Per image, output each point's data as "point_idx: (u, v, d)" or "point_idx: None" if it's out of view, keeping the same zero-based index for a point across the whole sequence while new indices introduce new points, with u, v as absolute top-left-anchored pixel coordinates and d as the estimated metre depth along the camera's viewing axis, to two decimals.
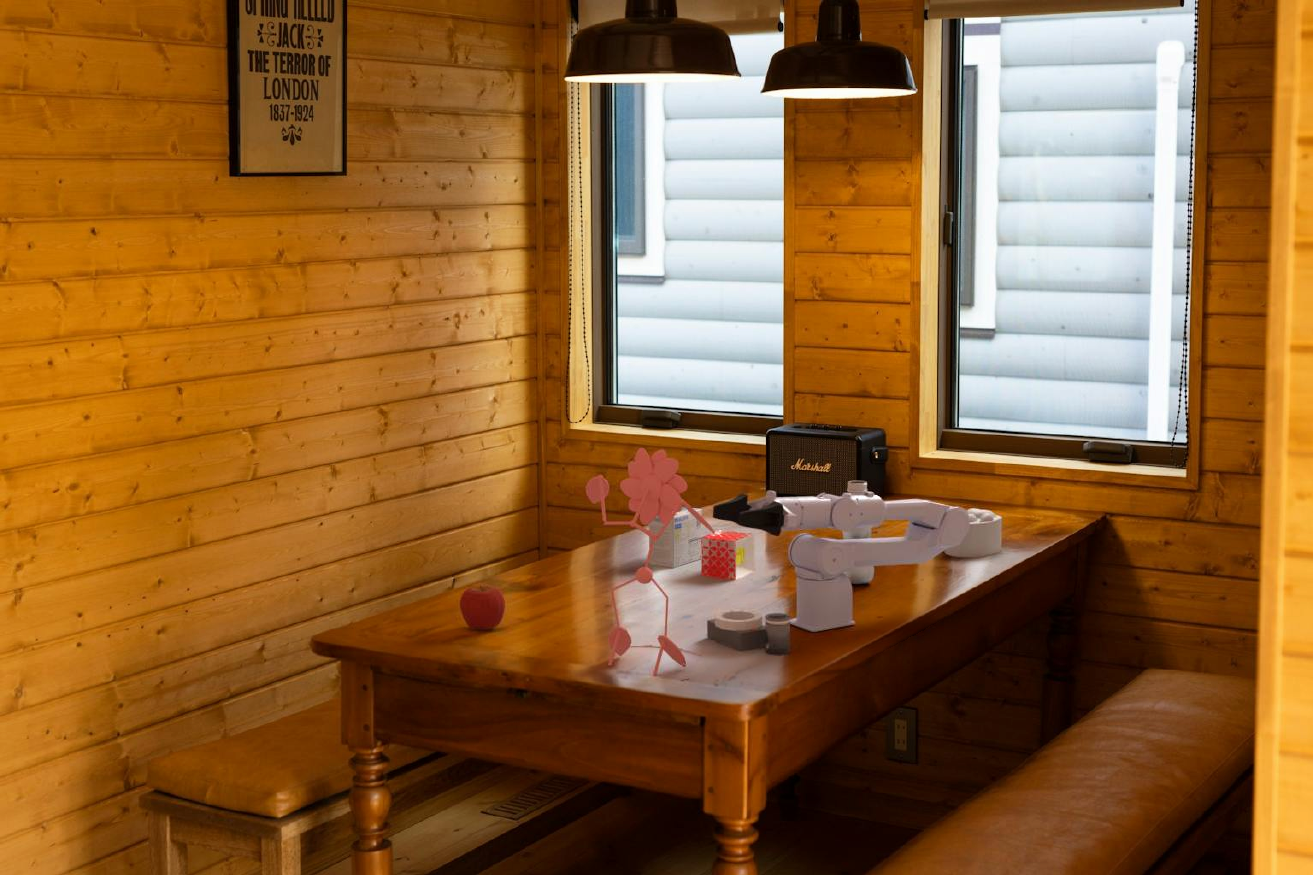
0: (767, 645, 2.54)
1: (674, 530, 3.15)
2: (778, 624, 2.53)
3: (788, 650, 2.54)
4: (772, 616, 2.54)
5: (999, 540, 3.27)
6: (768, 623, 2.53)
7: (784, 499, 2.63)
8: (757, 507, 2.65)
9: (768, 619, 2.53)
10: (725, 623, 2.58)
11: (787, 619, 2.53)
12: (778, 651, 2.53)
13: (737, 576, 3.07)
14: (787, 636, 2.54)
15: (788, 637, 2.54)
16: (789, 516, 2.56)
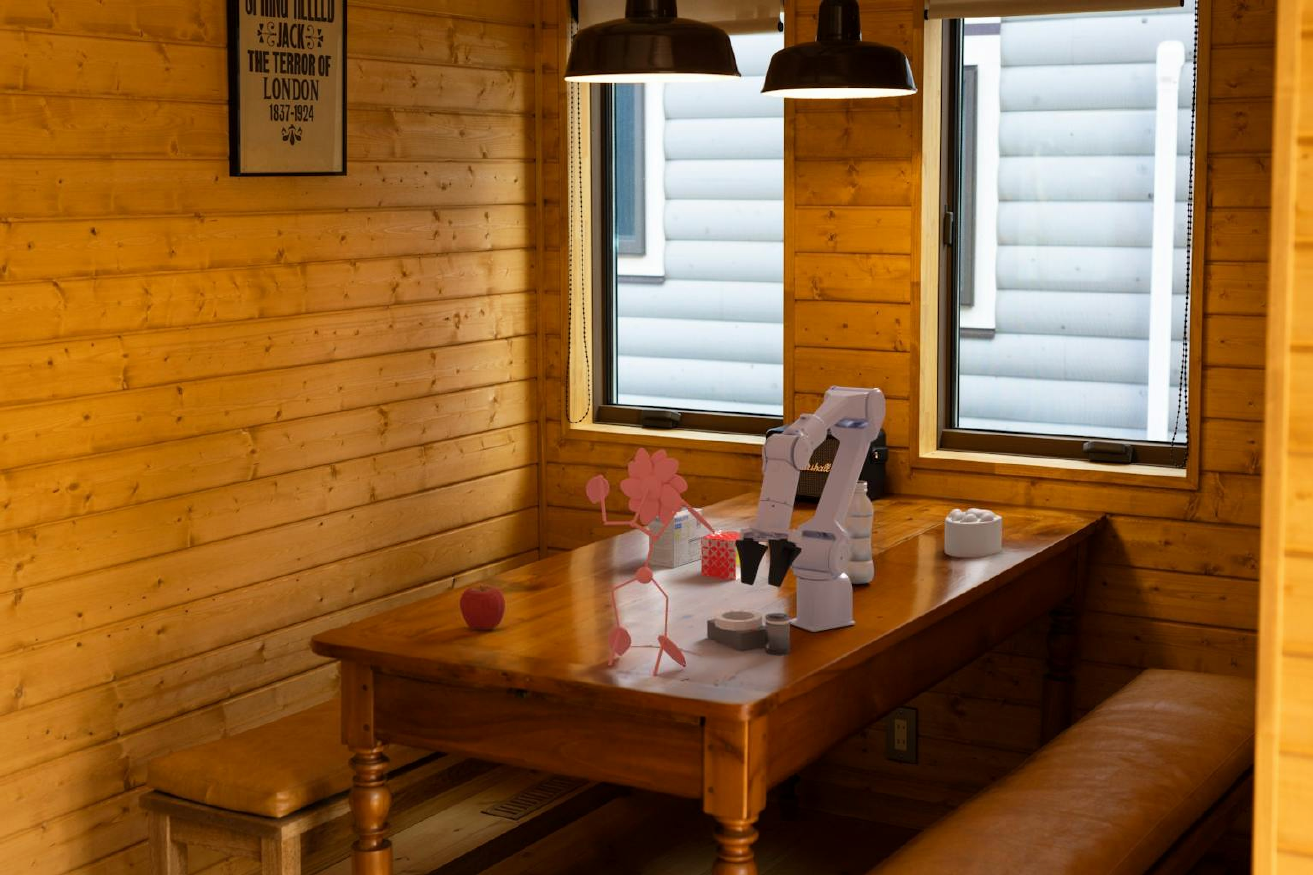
0: (767, 645, 2.54)
1: (674, 530, 3.15)
2: (778, 624, 2.53)
3: (788, 650, 2.54)
4: (772, 616, 2.54)
5: (999, 540, 3.27)
6: (768, 623, 2.53)
7: (764, 515, 2.54)
8: (756, 536, 2.57)
9: (768, 619, 2.53)
10: (725, 623, 2.58)
11: (787, 619, 2.53)
12: (778, 651, 2.53)
13: (737, 576, 3.07)
14: (787, 636, 2.54)
15: (788, 637, 2.54)
16: (791, 539, 2.49)
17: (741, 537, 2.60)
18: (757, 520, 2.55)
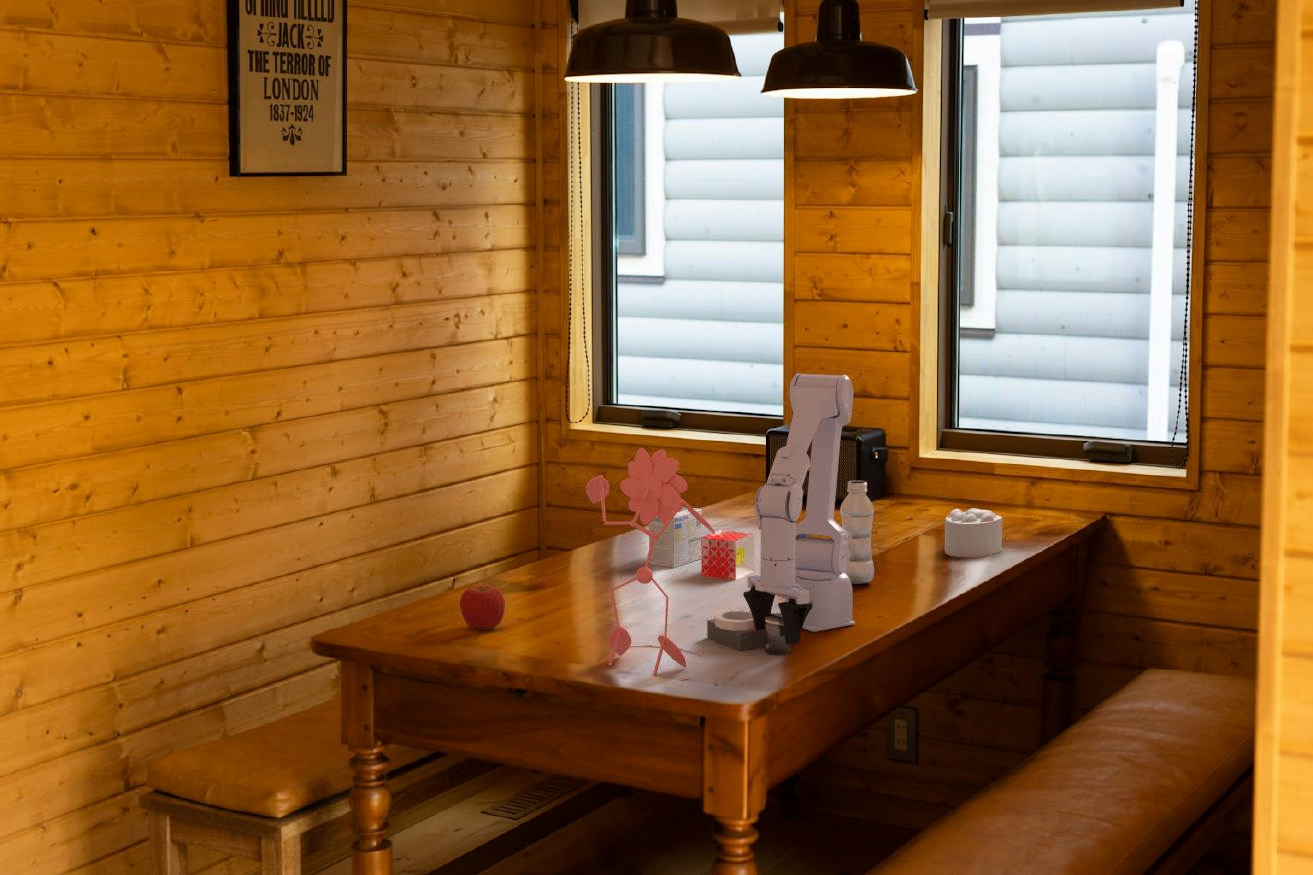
0: (767, 645, 2.54)
1: (674, 530, 3.15)
2: (778, 624, 2.53)
3: (788, 650, 2.54)
4: (772, 616, 2.54)
5: (999, 540, 3.27)
6: (768, 623, 2.53)
7: (768, 575, 2.51)
8: None
9: (768, 619, 2.53)
10: (725, 623, 2.58)
11: None
12: (778, 651, 2.53)
13: (737, 576, 3.07)
14: None
15: None
16: (800, 602, 2.47)
17: (749, 585, 2.59)
18: (762, 579, 2.52)
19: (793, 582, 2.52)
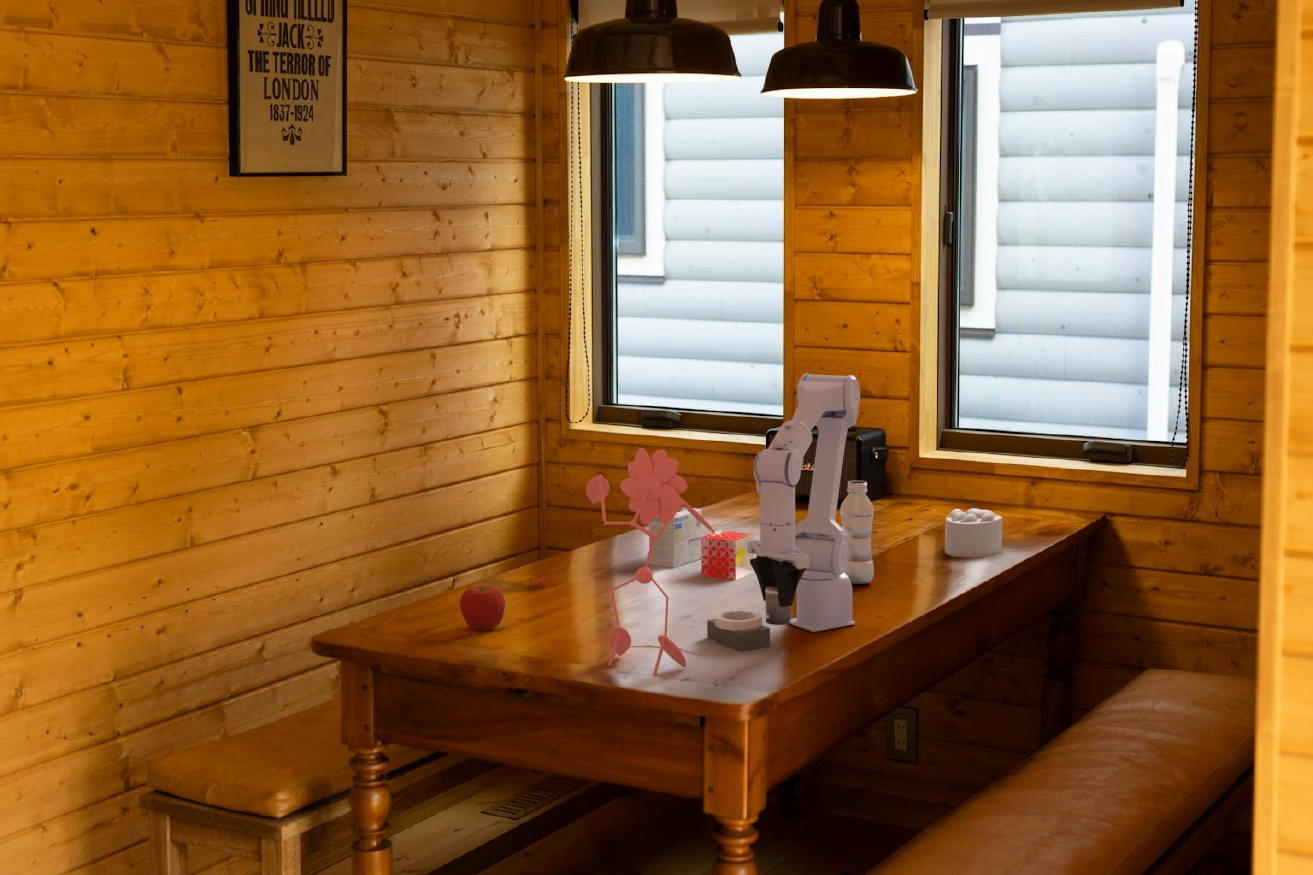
0: (767, 615, 2.53)
1: (674, 530, 3.15)
2: None
3: (788, 620, 2.54)
4: (772, 586, 2.53)
5: (999, 540, 3.27)
6: (768, 593, 2.53)
7: (767, 540, 2.50)
8: None
9: (768, 589, 2.53)
10: (725, 623, 2.58)
11: None
12: (779, 621, 2.53)
13: (737, 576, 3.07)
14: None
15: (788, 607, 2.53)
16: (800, 567, 2.47)
17: (749, 550, 2.58)
18: (762, 544, 2.52)
19: (793, 547, 2.52)
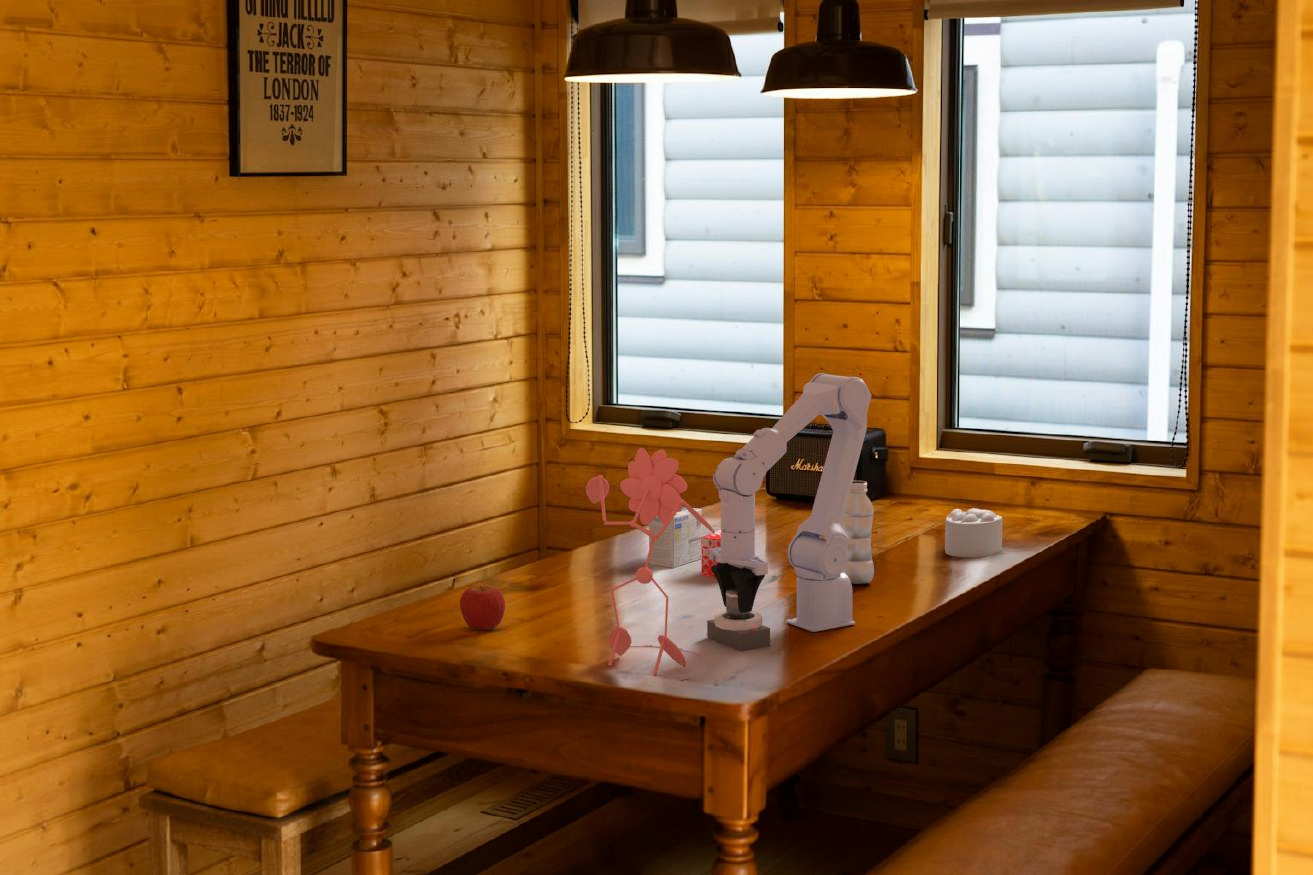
0: (728, 618, 2.60)
1: (674, 530, 3.15)
2: None
3: None
4: (732, 589, 2.60)
5: (1000, 540, 3.27)
6: (728, 596, 2.59)
7: (728, 547, 2.57)
8: None
9: (728, 592, 2.59)
10: (725, 623, 2.58)
11: None
12: None
13: None
14: None
15: None
16: (758, 573, 2.53)
17: (710, 557, 2.65)
18: (722, 551, 2.58)
19: (753, 554, 2.58)
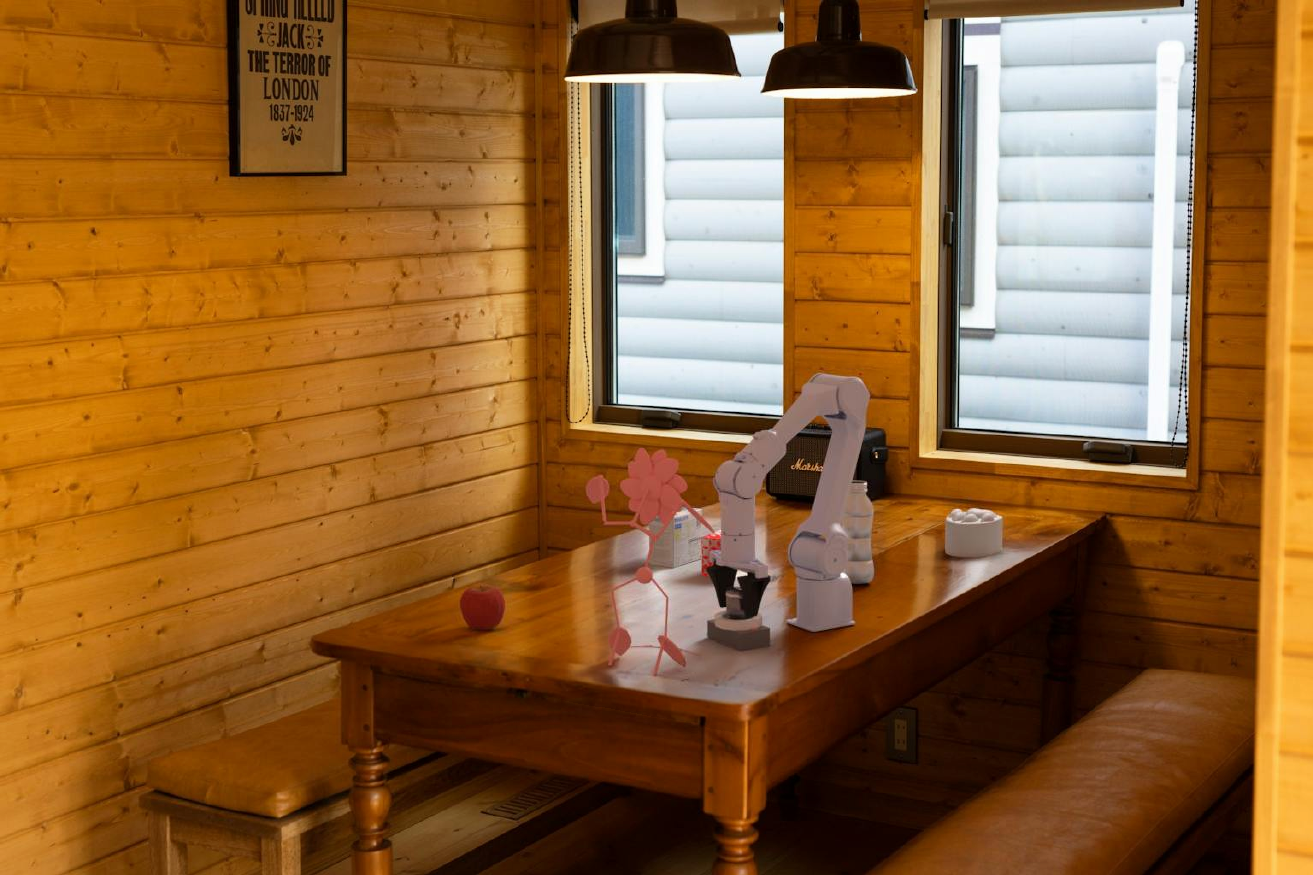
0: (728, 618, 2.60)
1: (674, 530, 3.15)
2: (738, 597, 2.58)
3: None
4: (732, 589, 2.60)
5: (1000, 540, 3.27)
6: (728, 596, 2.59)
7: (728, 550, 2.57)
8: None
9: (728, 592, 2.59)
10: (725, 623, 2.58)
11: None
12: None
13: (737, 576, 3.07)
14: None
15: None
16: (759, 576, 2.53)
17: (711, 560, 2.65)
18: (722, 553, 2.58)
19: (753, 556, 2.58)
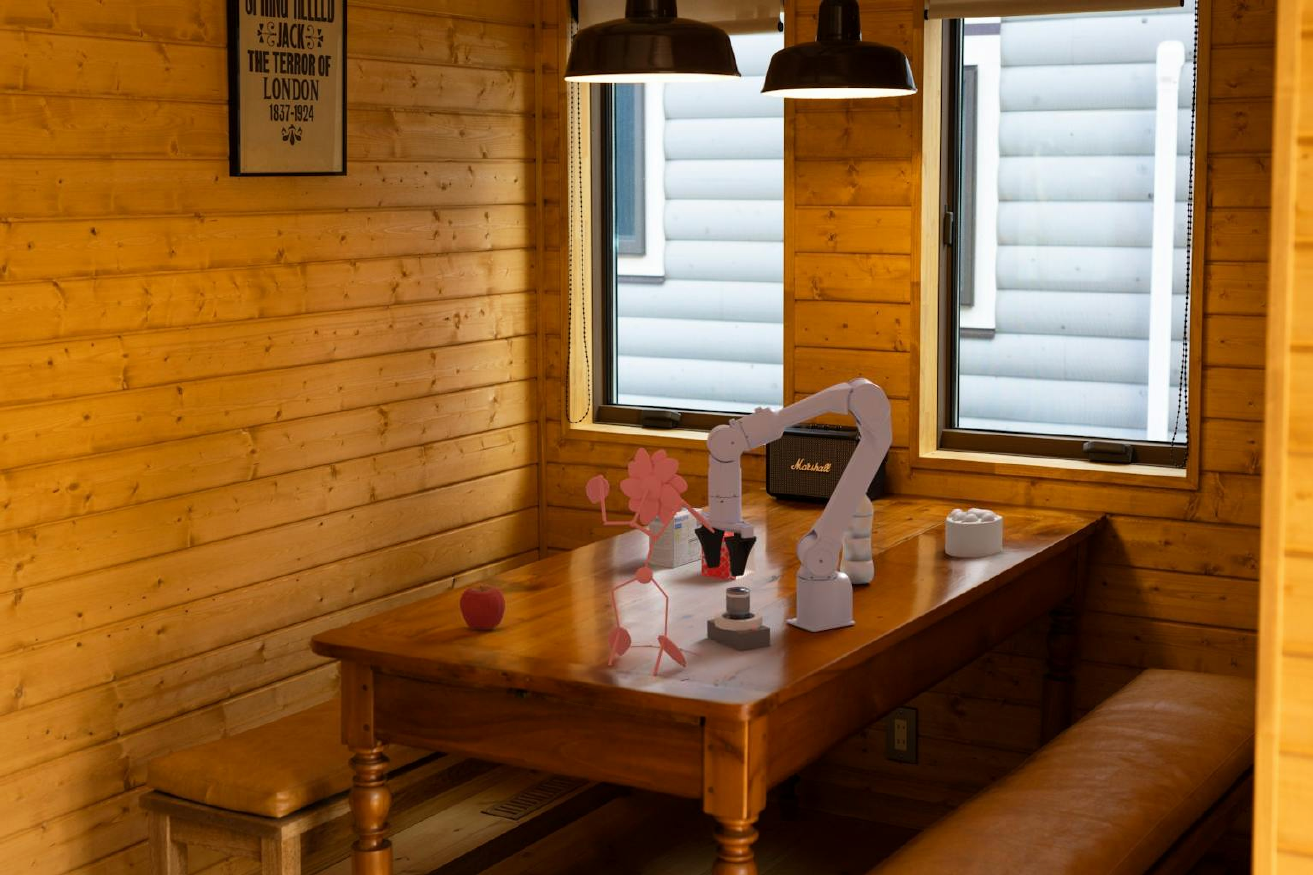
0: (728, 618, 2.60)
1: (674, 530, 3.15)
2: (738, 597, 2.58)
3: None
4: (732, 589, 2.60)
5: (1000, 540, 3.27)
6: (728, 596, 2.59)
7: (715, 512, 2.66)
8: None
9: (728, 592, 2.59)
10: (725, 623, 2.58)
11: (747, 592, 2.59)
12: None
13: (737, 576, 3.07)
14: (747, 609, 2.59)
15: (748, 610, 2.60)
16: (745, 536, 2.62)
17: (699, 522, 2.74)
18: (710, 515, 2.67)
19: (739, 518, 2.67)
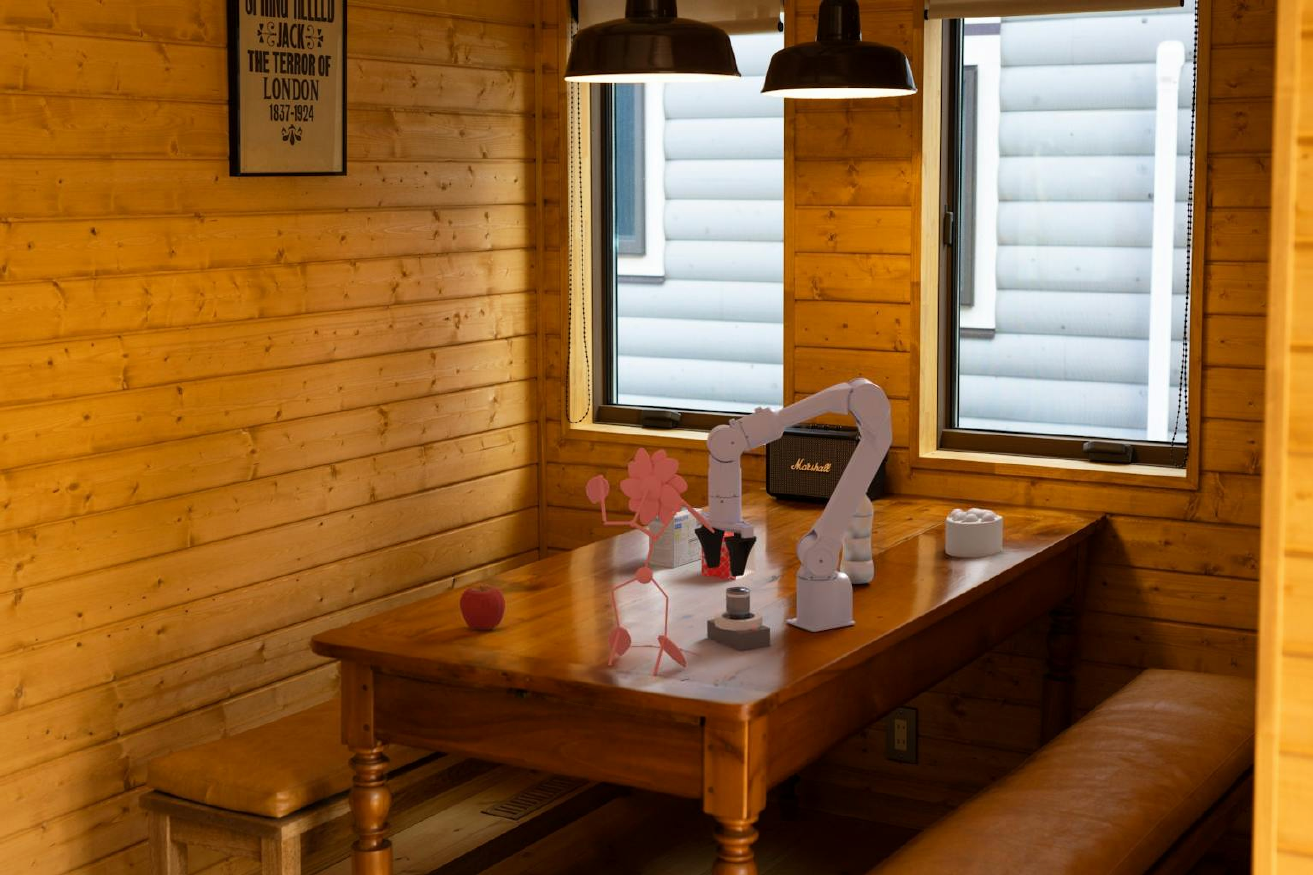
0: (728, 618, 2.60)
1: (674, 530, 3.15)
2: (738, 597, 2.58)
3: None
4: (732, 589, 2.60)
5: (1000, 540, 3.27)
6: (728, 596, 2.59)
7: (715, 512, 2.66)
8: None
9: (728, 592, 2.59)
10: (725, 623, 2.58)
11: (747, 592, 2.59)
12: None
13: (737, 576, 3.07)
14: (747, 609, 2.59)
15: (748, 610, 2.60)
16: (745, 536, 2.62)
17: (699, 522, 2.74)
18: (710, 515, 2.67)
19: (739, 518, 2.67)
